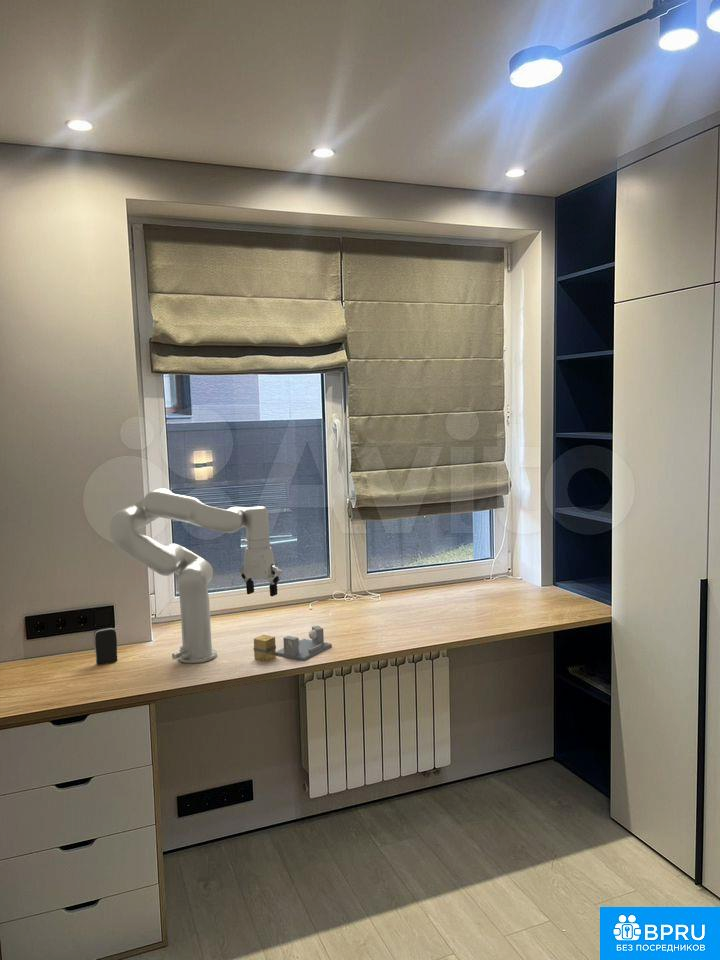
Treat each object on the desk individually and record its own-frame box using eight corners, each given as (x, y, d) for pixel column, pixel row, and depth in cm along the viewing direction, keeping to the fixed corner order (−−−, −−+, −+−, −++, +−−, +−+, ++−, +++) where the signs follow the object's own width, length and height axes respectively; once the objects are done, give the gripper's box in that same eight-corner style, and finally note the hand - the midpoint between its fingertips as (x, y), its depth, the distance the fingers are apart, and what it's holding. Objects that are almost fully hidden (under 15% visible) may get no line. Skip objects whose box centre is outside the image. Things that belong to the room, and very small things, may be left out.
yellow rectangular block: (266, 662, 231) (265, 641, 231) (254, 659, 234) (253, 638, 234) (276, 657, 236) (275, 636, 235) (264, 654, 239) (263, 634, 238)
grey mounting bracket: (303, 660, 231) (303, 641, 231) (275, 655, 238) (274, 636, 237) (332, 646, 245) (331, 627, 245) (304, 641, 252) (304, 623, 251)
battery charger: (115, 658, 239) (113, 625, 238) (118, 661, 236) (116, 628, 235) (94, 663, 235) (91, 629, 234) (96, 666, 232) (94, 632, 231)
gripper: (230, 544, 236) (234, 595, 237) (272, 547, 227) (276, 599, 229) (245, 540, 242) (248, 589, 244) (286, 542, 234) (289, 593, 235)
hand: (262, 594), depth 236 cm, fingers open, 9 cm apart
